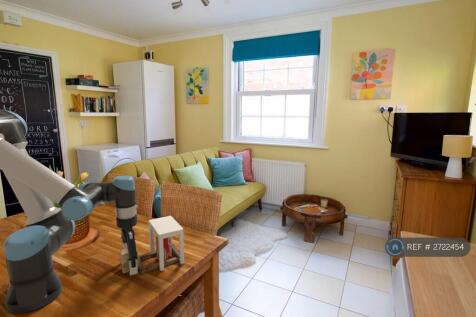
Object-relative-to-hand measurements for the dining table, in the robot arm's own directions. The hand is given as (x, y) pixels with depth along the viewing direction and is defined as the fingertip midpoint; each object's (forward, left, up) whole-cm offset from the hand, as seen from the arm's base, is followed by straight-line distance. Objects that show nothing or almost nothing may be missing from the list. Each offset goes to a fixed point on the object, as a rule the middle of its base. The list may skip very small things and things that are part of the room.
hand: (130, 265), depth 105 cm
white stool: (+15, 0, -2) cm, 15 cm away
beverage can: (+14, 0, -2) cm, 14 cm away
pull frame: (+8, 0, -1) cm, 8 cm away
